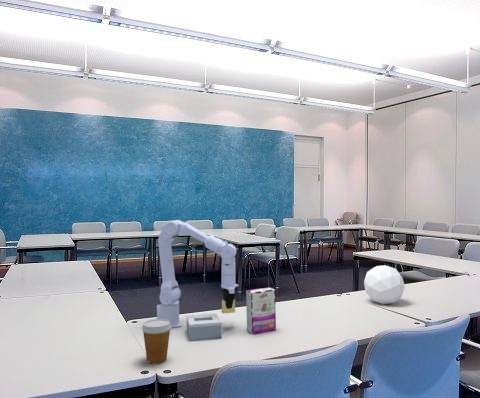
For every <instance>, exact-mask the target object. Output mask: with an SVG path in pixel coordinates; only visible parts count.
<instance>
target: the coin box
mask: <svg viewBox="0 0 480 398" xmlns="http://www.w3.org/2000/svg"><path fill="white" fill-rule="evenodd" d="M186 334H187V337H188V340H189V342H192V341H195V342H197V341H206V340H217V339H222V321H221V319H220V318H219V316H218V314H217V313H209V314H208V313H207V314H204V313H203V314H193V315H191V314H190V315H186Z"/></svg>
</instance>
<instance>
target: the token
mask: <svg viewBox="0 0 480 398" xmlns="http://www.w3.org/2000/svg"><path fill="white" fill-rule="evenodd" d="M221 313H222V314H231V313H232V314H233V313H236V300H235V299H234V300H233V305H232V308H230V309H227V308H226V303H225V300H224V299H221Z"/></svg>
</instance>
